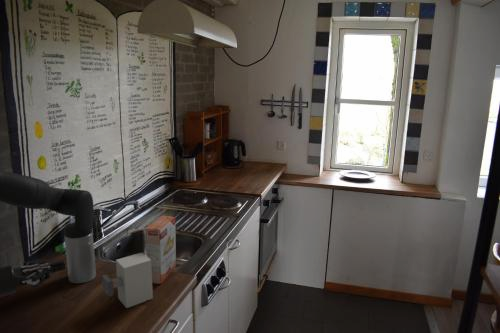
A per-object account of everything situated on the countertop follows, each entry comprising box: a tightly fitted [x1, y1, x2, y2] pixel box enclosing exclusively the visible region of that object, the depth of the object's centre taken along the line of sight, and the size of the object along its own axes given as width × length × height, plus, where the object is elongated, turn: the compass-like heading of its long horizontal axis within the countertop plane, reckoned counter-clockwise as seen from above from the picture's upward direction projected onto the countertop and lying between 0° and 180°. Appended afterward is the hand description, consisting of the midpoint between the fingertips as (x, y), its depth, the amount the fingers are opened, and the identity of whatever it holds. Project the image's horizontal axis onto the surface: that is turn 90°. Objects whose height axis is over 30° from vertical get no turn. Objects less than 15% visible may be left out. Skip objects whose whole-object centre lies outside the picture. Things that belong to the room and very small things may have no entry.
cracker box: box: [145, 215, 177, 285], centre depth 141 cm, size 14×6×21 cm, turn 168°
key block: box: [115, 252, 154, 309], centre depth 126 cm, size 7×9×14 cm
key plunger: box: [101, 273, 123, 298], centre depth 122 cm, size 5×8×5 cm, turn 130°
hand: (64, 264), depth 110 cm, fingers closed
